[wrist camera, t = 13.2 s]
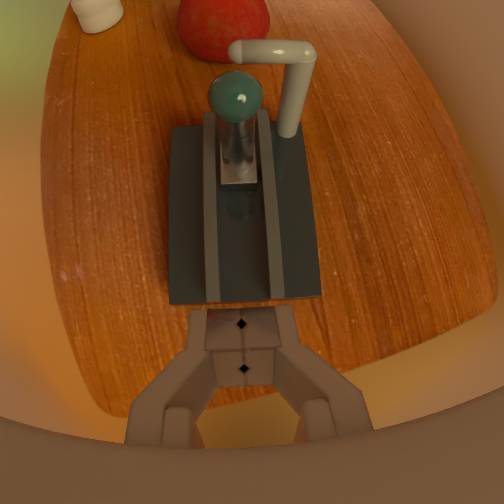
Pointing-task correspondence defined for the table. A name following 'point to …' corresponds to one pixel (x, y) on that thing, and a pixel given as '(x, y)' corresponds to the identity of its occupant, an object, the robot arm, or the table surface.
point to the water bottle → (97, 14)
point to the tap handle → (236, 127)
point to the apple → (220, 25)
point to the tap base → (246, 199)
